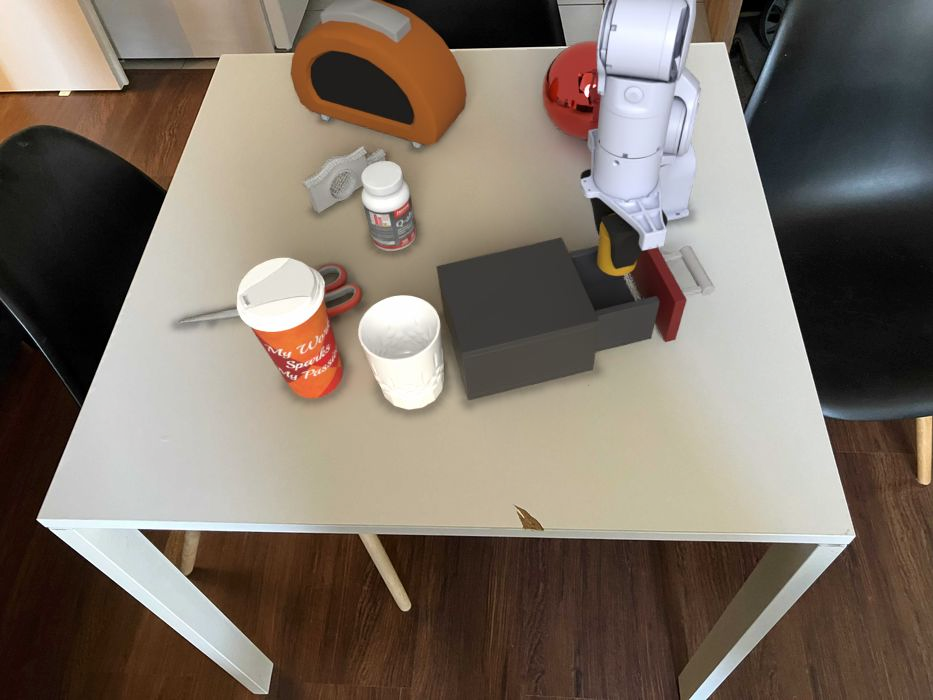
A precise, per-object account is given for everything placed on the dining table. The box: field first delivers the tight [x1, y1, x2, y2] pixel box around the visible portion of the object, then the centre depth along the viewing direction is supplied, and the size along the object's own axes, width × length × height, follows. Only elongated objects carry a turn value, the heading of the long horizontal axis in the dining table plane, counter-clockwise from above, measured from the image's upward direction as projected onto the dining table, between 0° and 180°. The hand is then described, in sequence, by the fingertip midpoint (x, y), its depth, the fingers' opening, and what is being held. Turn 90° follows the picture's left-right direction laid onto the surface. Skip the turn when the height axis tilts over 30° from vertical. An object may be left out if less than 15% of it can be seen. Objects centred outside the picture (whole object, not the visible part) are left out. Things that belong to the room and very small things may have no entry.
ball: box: [541, 40, 601, 140], centre depth 94 cm, size 12×12×12 cm
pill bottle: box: [361, 160, 417, 252], centre depth 85 cm, size 6×6×10 cm
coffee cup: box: [236, 257, 343, 399], centre depth 72 cm, size 8×8×15 cm
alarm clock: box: [290, 0, 467, 149], centre depth 96 cm, size 23×9×17 cm, turn 62°
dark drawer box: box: [436, 237, 599, 401], centre depth 75 cm, size 14×12×9 cm
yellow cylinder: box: [597, 213, 637, 276], centre depth 72 cm, size 4×4×5 cm
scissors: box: [178, 263, 363, 324], centre depth 83 cm, size 8×21×2 cm, turn 112°
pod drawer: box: [568, 245, 716, 353], centre depth 76 cm, size 17×10×7 cm, turn 104°
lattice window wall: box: [301, 145, 387, 214], centre depth 93 cm, size 12×2×6 cm, turn 132°
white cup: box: [357, 294, 445, 410], centre depth 73 cm, size 8×8×10 cm
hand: (615, 248), depth 72 cm, fingers closed on yellow cylinder, 4 cm apart
